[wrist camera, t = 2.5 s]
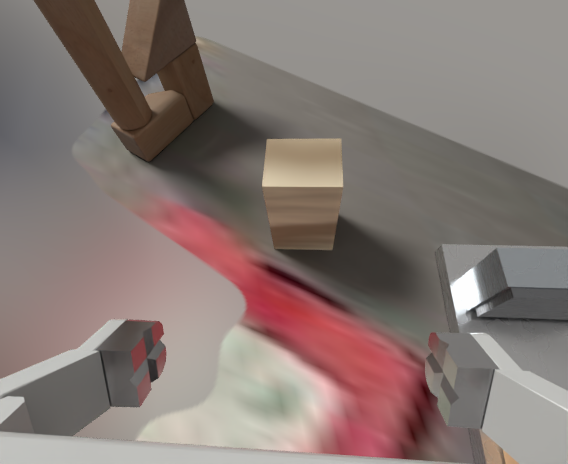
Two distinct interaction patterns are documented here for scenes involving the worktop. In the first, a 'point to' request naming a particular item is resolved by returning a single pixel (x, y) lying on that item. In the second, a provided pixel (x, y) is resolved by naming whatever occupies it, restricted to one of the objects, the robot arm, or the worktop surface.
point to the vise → (509, 310)
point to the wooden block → (137, 67)
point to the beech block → (303, 192)
